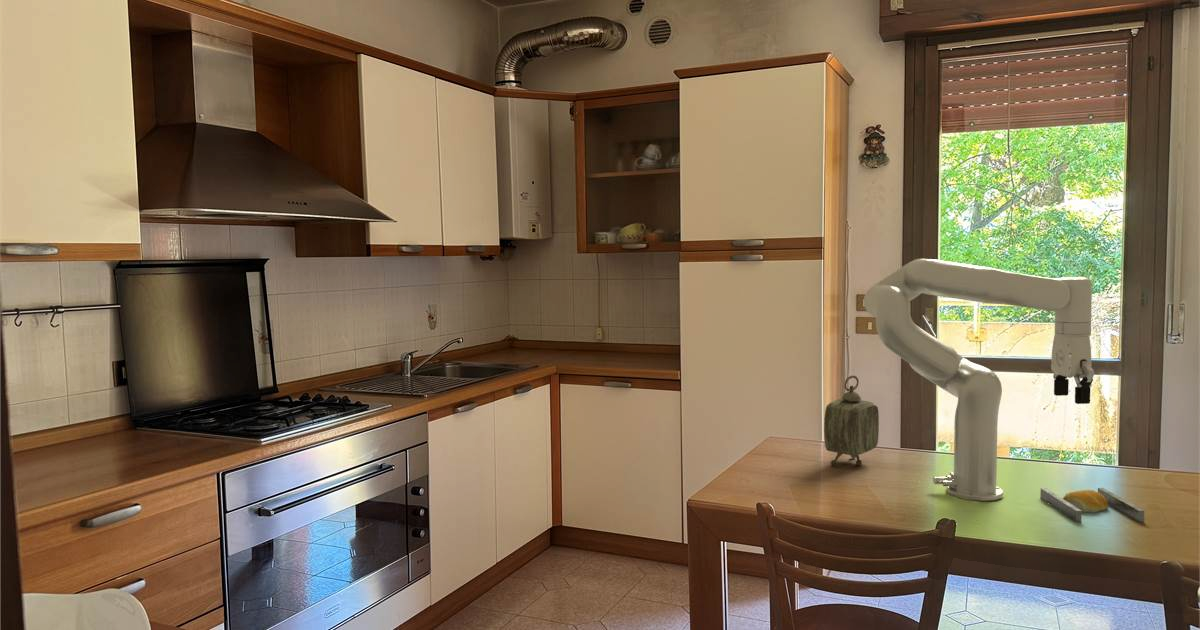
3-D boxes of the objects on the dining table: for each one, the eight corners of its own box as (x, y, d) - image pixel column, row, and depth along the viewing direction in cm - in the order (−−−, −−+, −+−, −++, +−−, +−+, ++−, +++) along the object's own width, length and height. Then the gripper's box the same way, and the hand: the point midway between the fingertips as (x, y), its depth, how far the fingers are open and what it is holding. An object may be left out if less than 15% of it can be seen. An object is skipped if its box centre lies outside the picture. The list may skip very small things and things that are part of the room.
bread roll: (1114, 508, 184) (1115, 492, 184) (1090, 516, 180) (1091, 498, 180) (1078, 498, 191) (1079, 482, 191) (1055, 505, 187) (1055, 488, 187)
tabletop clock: (851, 456, 232) (851, 370, 230) (880, 461, 225) (881, 374, 223) (824, 466, 222) (824, 377, 220) (853, 473, 216) (854, 381, 213)
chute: (1075, 521, 176) (1076, 510, 176) (1040, 498, 192) (1040, 488, 191) (1143, 521, 175) (1144, 510, 175) (1102, 498, 191) (1103, 487, 191)
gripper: (1038, 325, 200) (1038, 392, 202) (1075, 333, 183) (1074, 407, 185) (1070, 324, 200) (1068, 392, 201) (1109, 332, 183) (1108, 406, 184)
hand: (1071, 399), depth 193 cm, fingers open, 9 cm apart
